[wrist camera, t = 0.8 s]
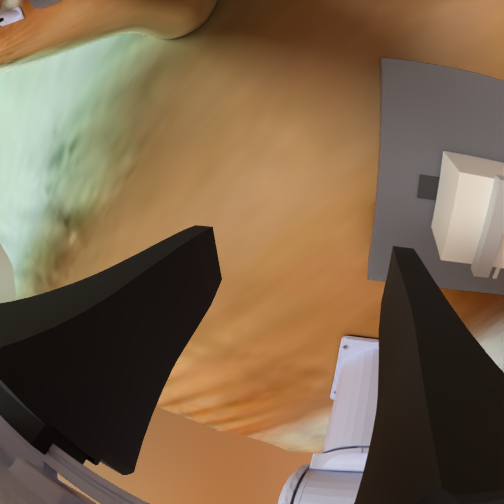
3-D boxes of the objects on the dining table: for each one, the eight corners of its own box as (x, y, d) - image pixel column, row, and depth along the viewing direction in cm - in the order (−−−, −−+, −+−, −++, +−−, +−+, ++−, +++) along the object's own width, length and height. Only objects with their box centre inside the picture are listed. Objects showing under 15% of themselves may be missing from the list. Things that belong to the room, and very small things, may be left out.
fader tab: (494, 239, 13) (515, 281, 10) (430, 229, 14) (441, 272, 11) (513, 161, 11) (545, 190, 8) (443, 146, 12) (464, 172, 9)
